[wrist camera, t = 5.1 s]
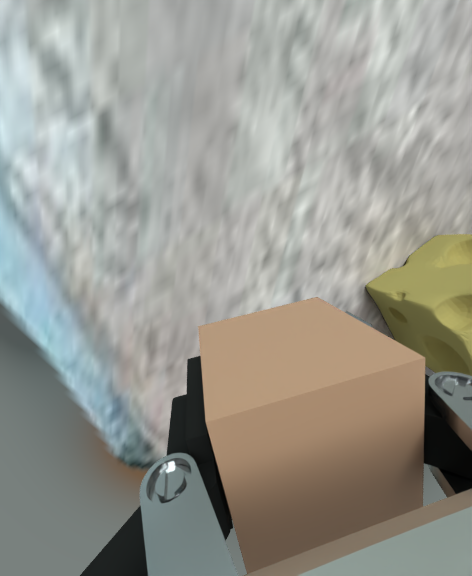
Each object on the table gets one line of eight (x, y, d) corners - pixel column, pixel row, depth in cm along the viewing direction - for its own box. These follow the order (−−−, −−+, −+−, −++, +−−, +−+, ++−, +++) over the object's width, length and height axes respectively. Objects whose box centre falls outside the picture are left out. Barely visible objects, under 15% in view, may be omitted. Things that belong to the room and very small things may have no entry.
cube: (317, 296, 10) (426, 357, 6) (327, 397, 12) (422, 514, 7) (198, 326, 10) (205, 422, 5) (224, 428, 11) (249, 580, 6)
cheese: (361, 285, 28) (451, 316, 18) (439, 228, 28) (571, 228, 18) (396, 351, 31) (489, 407, 21) (466, 299, 31) (591, 332, 21)
